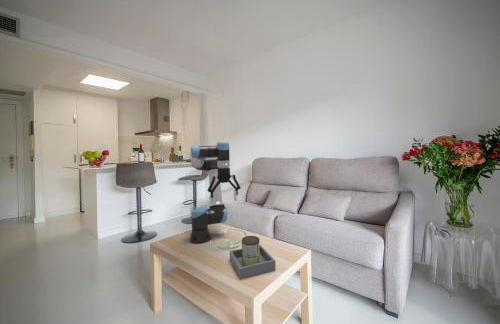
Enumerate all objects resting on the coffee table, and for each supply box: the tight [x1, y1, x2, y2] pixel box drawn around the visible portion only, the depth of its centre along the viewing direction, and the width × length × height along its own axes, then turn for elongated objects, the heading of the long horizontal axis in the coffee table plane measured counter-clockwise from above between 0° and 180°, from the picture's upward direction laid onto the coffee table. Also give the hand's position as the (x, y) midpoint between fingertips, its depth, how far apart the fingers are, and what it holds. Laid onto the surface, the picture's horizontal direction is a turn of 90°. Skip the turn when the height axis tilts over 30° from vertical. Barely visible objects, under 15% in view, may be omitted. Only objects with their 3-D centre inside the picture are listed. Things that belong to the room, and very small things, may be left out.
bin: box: [229, 244, 276, 280], centre depth 122 cm, size 20×20×6 cm
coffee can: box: [241, 235, 261, 266], centre depth 122 cm, size 10×10×14 cm
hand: (224, 201), depth 130 cm, fingers open, 13 cm apart
